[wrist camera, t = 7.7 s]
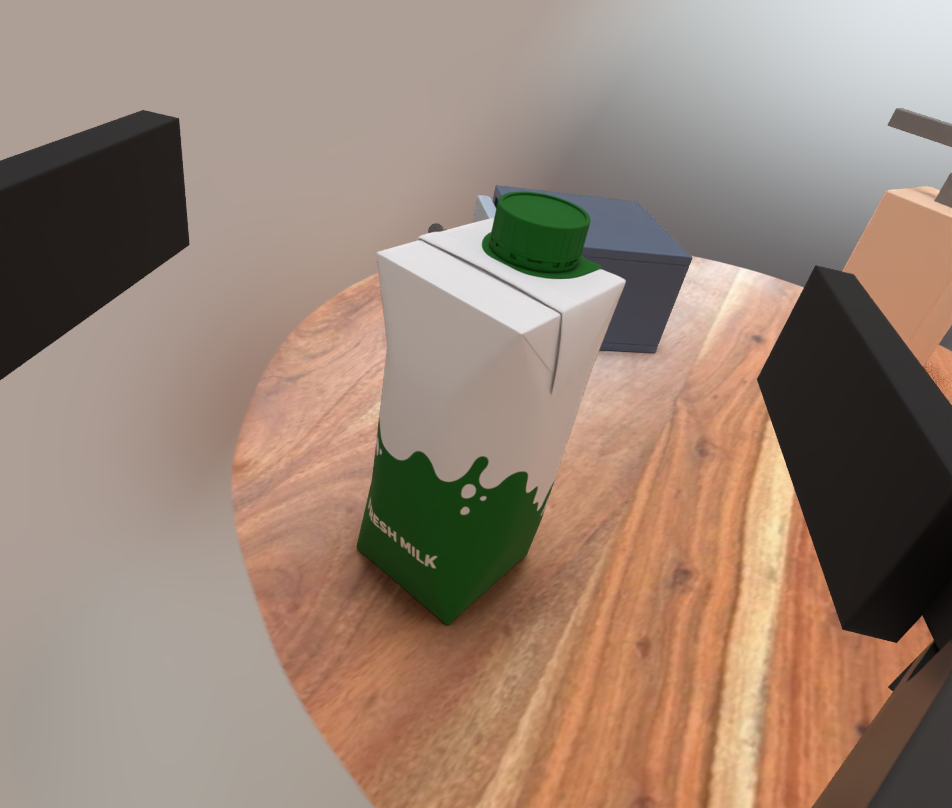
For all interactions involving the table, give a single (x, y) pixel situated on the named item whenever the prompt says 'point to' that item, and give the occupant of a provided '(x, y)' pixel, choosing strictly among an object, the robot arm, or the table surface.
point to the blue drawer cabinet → (630, 266)
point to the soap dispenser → (911, 251)
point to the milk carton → (480, 392)
